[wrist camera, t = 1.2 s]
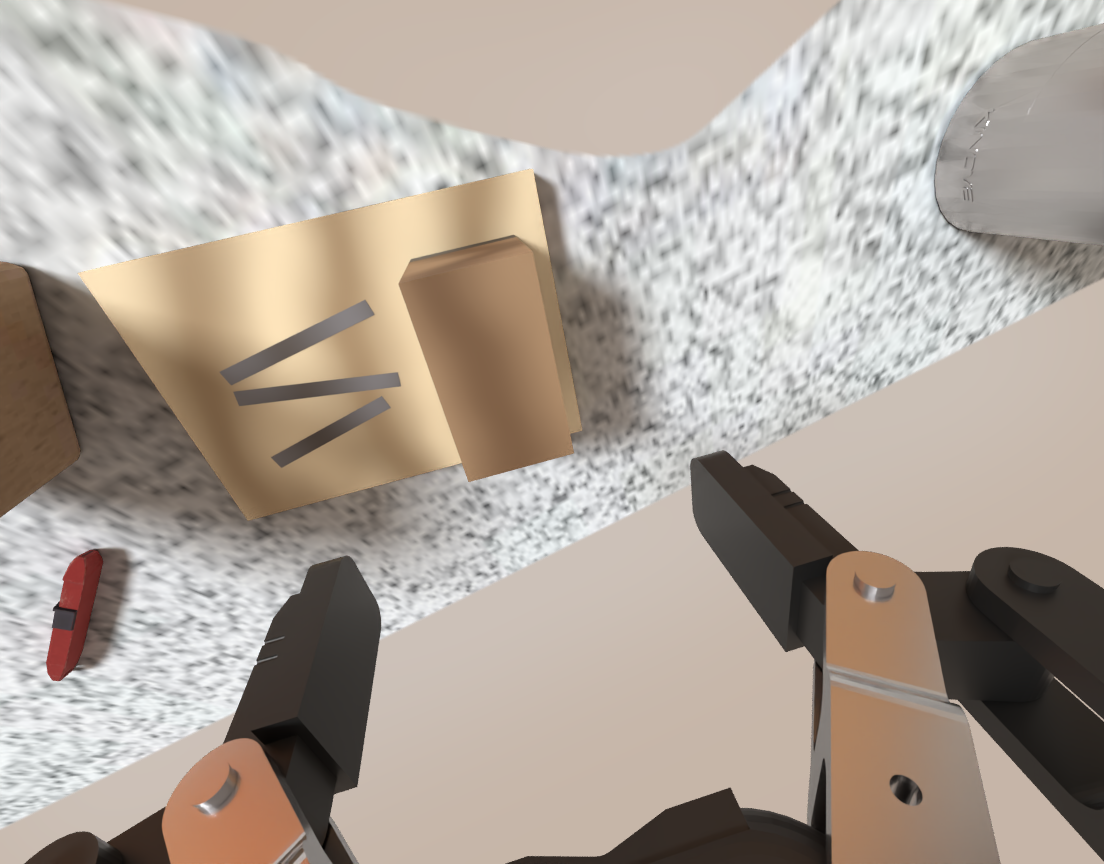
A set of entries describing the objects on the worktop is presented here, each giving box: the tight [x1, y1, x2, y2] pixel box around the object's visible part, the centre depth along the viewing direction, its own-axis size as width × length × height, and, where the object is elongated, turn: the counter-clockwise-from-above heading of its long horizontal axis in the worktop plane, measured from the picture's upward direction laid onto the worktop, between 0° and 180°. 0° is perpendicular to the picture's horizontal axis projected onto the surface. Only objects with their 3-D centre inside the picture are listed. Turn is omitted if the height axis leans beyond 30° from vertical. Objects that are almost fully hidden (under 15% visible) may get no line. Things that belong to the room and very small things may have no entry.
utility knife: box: [46, 550, 103, 681], centre depth 29 cm, size 12×1×2 cm, turn 150°
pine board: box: [78, 169, 582, 521], centre depth 25 cm, size 20×14×2 cm
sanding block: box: [398, 235, 574, 482], centre depth 22 cm, size 5×9×6 cm, turn 11°
